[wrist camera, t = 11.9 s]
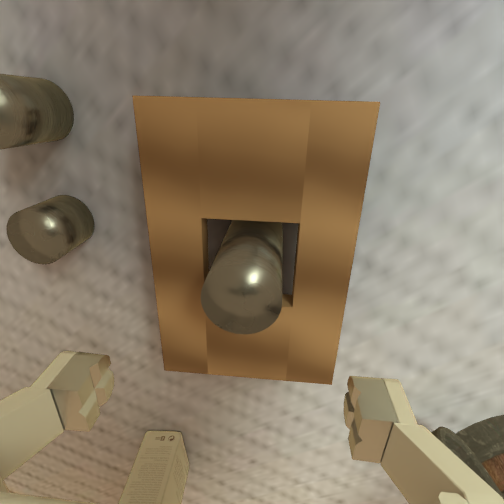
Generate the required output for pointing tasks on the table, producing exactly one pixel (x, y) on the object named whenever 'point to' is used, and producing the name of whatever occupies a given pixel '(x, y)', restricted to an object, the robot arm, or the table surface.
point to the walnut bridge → (254, 209)
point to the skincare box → (158, 470)
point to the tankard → (479, 449)
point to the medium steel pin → (32, 111)
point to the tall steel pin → (246, 278)
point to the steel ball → (50, 229)
